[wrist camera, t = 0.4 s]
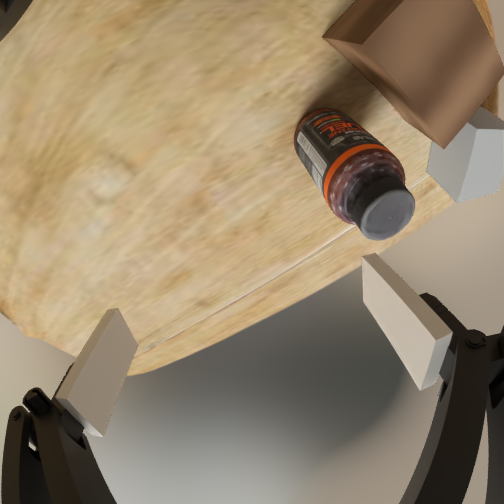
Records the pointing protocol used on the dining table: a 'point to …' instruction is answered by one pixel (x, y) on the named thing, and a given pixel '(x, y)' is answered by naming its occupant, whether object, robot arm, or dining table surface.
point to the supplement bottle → (354, 173)
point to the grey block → (471, 158)
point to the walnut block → (422, 59)
